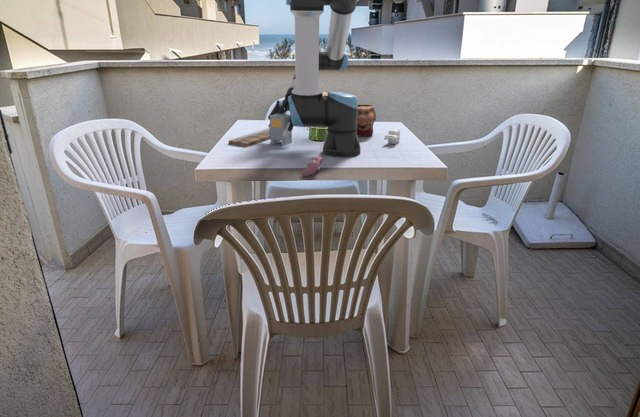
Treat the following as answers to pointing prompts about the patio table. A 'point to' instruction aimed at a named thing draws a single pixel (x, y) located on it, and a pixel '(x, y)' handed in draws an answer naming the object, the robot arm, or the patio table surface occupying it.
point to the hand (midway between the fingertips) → (276, 135)
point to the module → (279, 128)
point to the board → (250, 141)
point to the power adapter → (393, 136)
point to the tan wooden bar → (252, 135)
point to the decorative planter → (365, 120)
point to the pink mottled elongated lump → (313, 166)
